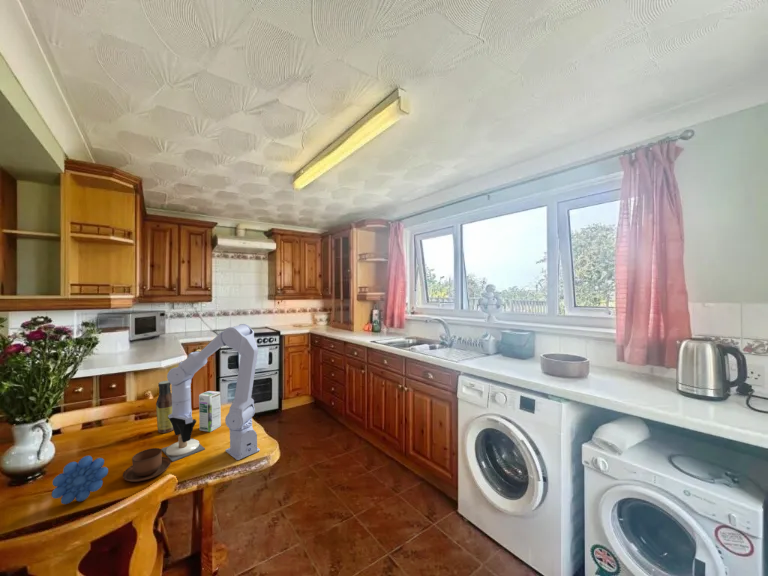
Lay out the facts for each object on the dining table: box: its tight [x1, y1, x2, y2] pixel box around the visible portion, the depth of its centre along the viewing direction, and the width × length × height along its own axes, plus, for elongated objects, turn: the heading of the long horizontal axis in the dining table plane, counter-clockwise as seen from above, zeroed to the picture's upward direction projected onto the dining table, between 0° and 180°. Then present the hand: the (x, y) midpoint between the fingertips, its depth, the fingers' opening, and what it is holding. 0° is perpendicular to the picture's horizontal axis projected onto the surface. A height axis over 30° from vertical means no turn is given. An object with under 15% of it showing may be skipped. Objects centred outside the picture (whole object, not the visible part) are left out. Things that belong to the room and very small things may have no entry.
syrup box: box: [198, 390, 222, 433], centre depth 129 cm, size 6×6×14 cm
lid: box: [165, 434, 200, 456], centre depth 113 cm, size 10×10×5 cm
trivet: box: [160, 437, 206, 463], centre depth 113 cm, size 12×10×1 cm
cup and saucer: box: [122, 447, 172, 483], centre depth 99 cm, size 12×12×6 cm
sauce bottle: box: [155, 380, 174, 434], centre depth 128 cm, size 6×6×20 cm
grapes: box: [51, 455, 109, 505], centre depth 88 cm, size 12×7×12 cm, turn 119°
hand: (182, 437), depth 113 cm, fingers open, 7 cm apart
